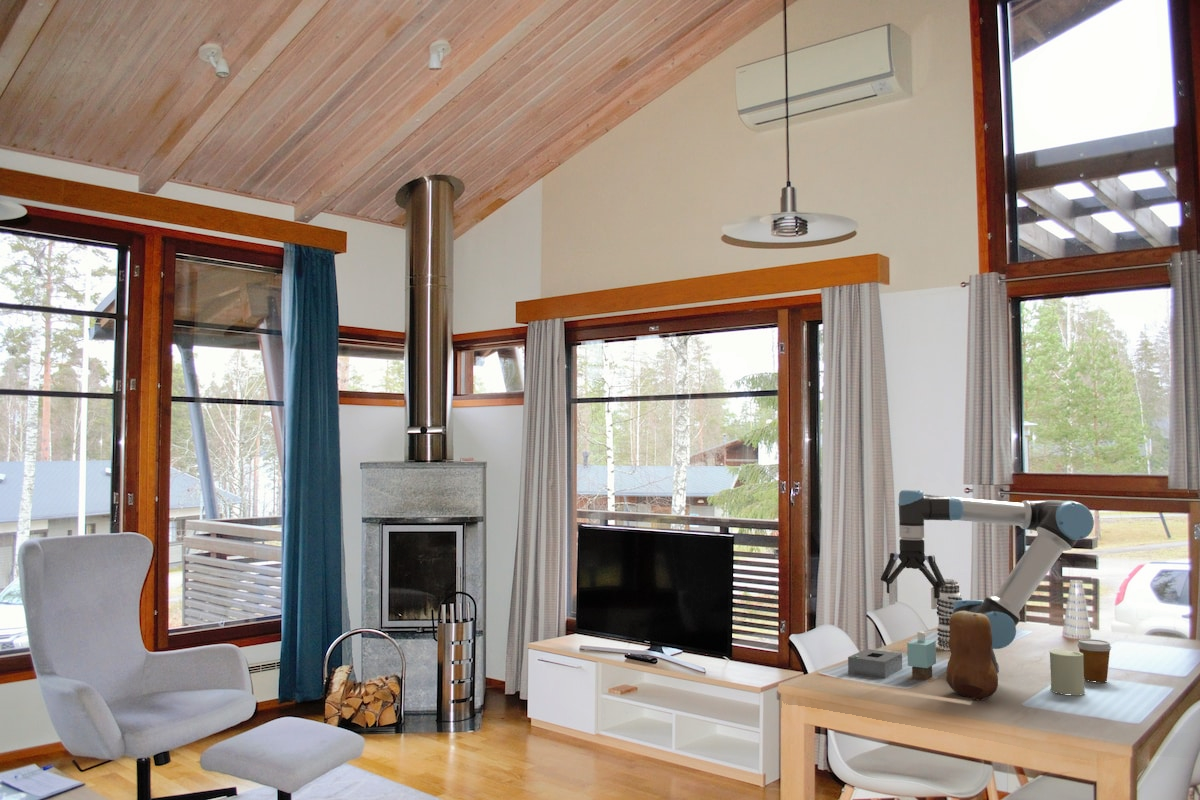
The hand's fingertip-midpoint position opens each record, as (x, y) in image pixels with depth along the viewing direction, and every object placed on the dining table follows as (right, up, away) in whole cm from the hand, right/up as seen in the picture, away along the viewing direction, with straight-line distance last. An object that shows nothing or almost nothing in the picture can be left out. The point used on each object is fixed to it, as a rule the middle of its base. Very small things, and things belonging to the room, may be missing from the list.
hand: (913, 606), depth 291 cm
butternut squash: (+9, -22, -24) cm, 33 cm away
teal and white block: (+2, -22, -2) cm, 22 cm away
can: (+41, -22, -16) cm, 49 cm away
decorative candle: (+30, -26, +47) cm, 62 cm away
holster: (+2, -23, -2) cm, 23 cm away
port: (-10, -23, +7) cm, 26 cm away
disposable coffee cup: (+57, -23, -2) cm, 61 cm away
